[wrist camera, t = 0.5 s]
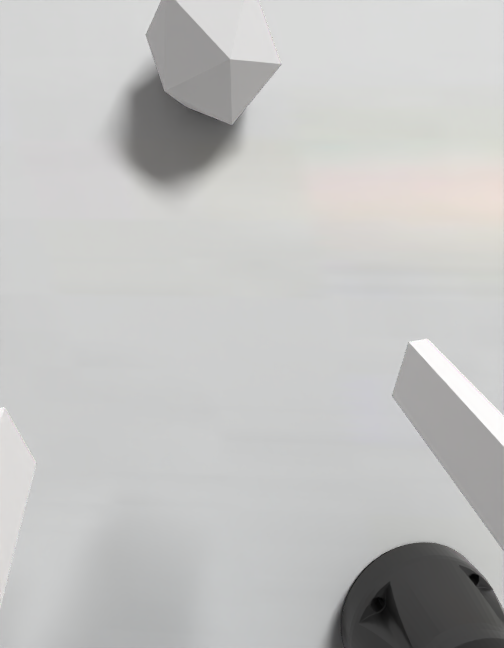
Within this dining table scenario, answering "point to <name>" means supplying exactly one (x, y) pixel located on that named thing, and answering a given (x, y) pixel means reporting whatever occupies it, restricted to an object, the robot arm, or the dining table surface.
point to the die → (213, 54)
